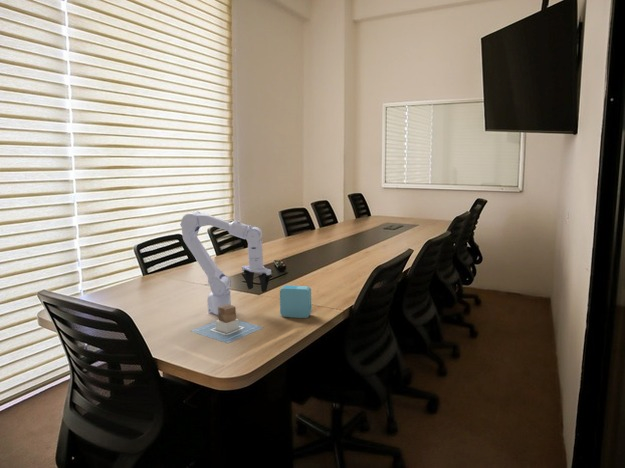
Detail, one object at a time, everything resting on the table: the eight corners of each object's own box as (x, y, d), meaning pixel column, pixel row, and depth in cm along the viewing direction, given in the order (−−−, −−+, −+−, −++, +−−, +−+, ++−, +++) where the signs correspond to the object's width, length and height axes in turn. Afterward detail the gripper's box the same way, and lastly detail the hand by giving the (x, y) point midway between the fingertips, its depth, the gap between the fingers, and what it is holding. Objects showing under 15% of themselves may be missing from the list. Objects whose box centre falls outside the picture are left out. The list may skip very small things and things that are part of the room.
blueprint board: (190, 333, 164) (190, 330, 163) (227, 319, 178) (226, 316, 178) (227, 346, 152) (227, 342, 152) (264, 329, 166) (263, 326, 166)
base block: (215, 329, 164) (215, 320, 163) (227, 325, 169) (227, 316, 168) (226, 333, 160) (226, 324, 160) (238, 328, 165) (238, 319, 165)
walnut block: (218, 320, 164) (218, 307, 163) (228, 316, 167) (228, 304, 167) (225, 322, 161) (225, 309, 160) (236, 319, 164) (235, 306, 163)
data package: (311, 314, 182) (311, 286, 180) (309, 318, 178) (308, 289, 176) (283, 313, 184) (282, 285, 182) (280, 316, 180) (279, 288, 178)
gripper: (275, 257, 178) (277, 290, 180) (249, 253, 187) (251, 285, 189) (263, 260, 172) (265, 294, 175) (237, 257, 181) (239, 289, 183)
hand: (257, 290), depth 181 cm, fingers open, 7 cm apart
